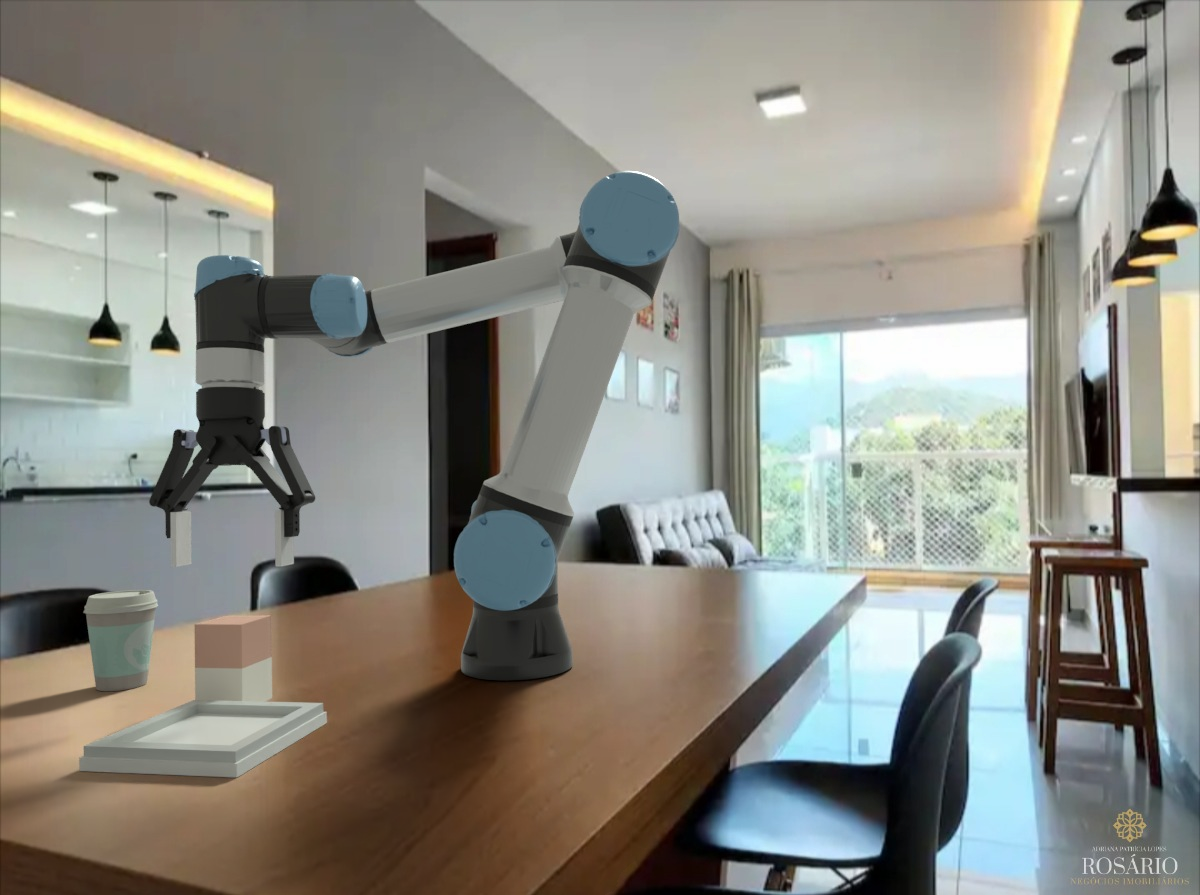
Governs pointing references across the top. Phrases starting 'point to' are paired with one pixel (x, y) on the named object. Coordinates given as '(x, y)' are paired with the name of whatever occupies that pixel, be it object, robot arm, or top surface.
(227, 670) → the brick stack
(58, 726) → the top surface
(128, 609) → the coffee cup
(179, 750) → the base plate
